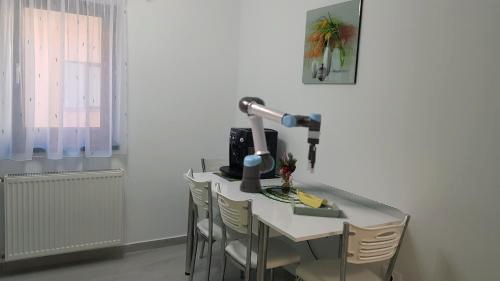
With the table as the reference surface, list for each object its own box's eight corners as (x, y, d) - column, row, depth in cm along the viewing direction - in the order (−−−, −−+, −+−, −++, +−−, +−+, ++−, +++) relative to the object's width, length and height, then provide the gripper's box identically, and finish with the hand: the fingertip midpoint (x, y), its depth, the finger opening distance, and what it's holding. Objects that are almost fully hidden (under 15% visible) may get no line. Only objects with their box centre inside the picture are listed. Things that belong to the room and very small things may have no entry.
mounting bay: (290, 205, 224) (291, 198, 224) (334, 208, 224) (334, 201, 223) (293, 214, 208) (294, 206, 207) (340, 217, 207) (341, 209, 207)
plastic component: (329, 202, 230) (322, 197, 223) (324, 213, 229) (318, 209, 221) (302, 192, 243) (295, 187, 235) (298, 203, 241) (291, 198, 234)
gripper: (322, 140, 228) (319, 175, 231) (316, 136, 251) (313, 168, 253) (310, 139, 229) (306, 174, 231) (305, 135, 251) (302, 167, 254)
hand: (310, 171), depth 242 cm, fingers open, 10 cm apart
